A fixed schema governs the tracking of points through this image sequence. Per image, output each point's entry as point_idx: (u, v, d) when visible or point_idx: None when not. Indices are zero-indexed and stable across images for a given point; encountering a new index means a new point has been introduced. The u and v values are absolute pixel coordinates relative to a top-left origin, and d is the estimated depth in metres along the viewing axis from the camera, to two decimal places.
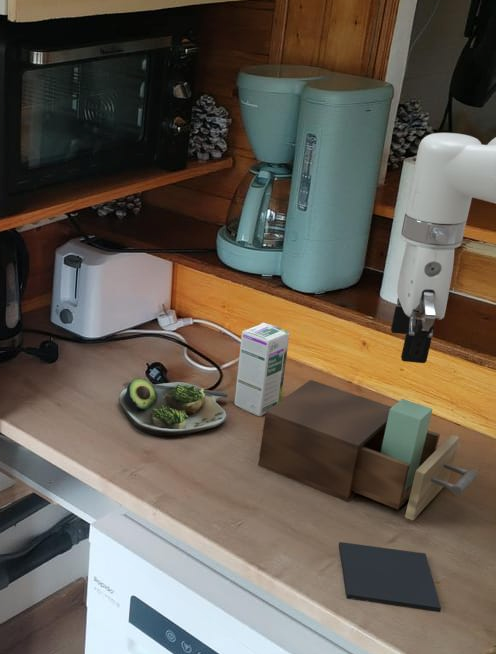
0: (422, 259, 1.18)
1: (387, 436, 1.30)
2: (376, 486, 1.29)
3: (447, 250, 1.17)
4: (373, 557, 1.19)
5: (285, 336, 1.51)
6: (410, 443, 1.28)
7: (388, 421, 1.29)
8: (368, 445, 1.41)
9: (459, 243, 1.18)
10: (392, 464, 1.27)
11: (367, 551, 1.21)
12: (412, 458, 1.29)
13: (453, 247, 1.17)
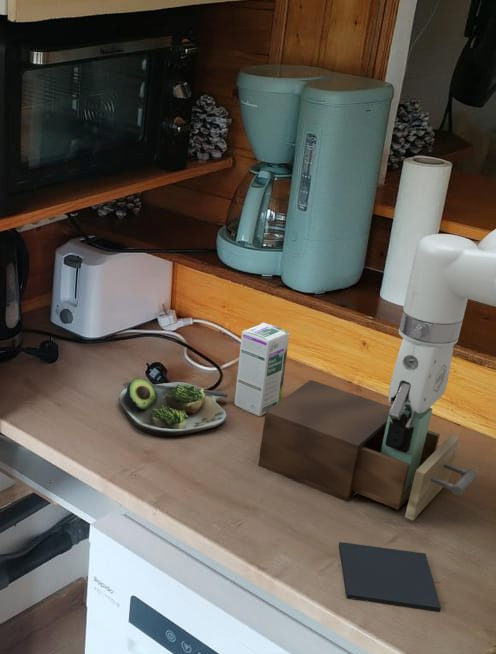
0: (402, 351, 1.22)
1: None
2: (376, 486, 1.29)
3: (426, 347, 1.20)
4: (373, 557, 1.19)
5: (285, 336, 1.51)
6: (410, 443, 1.28)
7: (388, 421, 1.29)
8: (368, 445, 1.41)
9: (446, 343, 1.20)
10: (392, 464, 1.27)
11: (367, 551, 1.21)
12: (412, 458, 1.29)
13: (436, 346, 1.20)
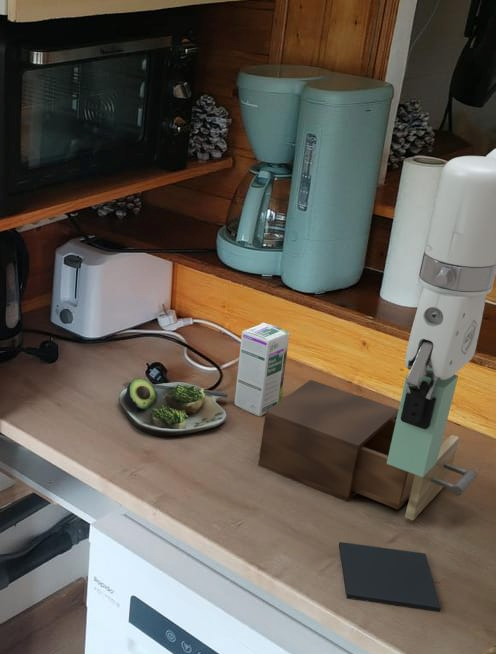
0: (423, 302, 0.99)
1: (402, 409, 1.07)
2: (376, 486, 1.29)
3: (453, 296, 0.97)
4: (373, 557, 1.19)
5: (285, 336, 1.51)
6: None
7: (404, 391, 1.06)
8: (368, 445, 1.41)
9: (478, 292, 0.97)
10: None
11: (367, 551, 1.21)
12: (433, 436, 1.06)
13: (466, 295, 0.97)
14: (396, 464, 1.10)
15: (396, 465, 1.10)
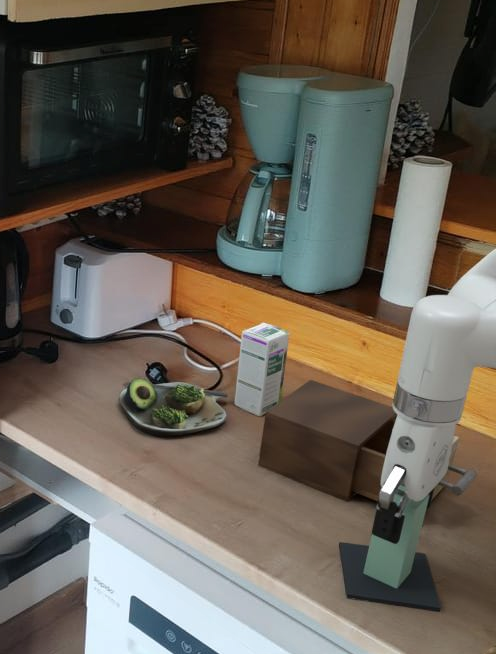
0: (396, 430, 1.05)
1: None
2: (376, 486, 1.29)
3: (424, 427, 1.03)
4: None
5: (285, 336, 1.51)
6: (403, 535, 1.11)
7: None
8: (368, 445, 1.41)
9: (447, 423, 1.03)
10: None
11: (367, 551, 1.21)
12: (406, 552, 1.12)
13: (436, 426, 1.03)
14: (372, 574, 1.16)
15: (372, 575, 1.16)
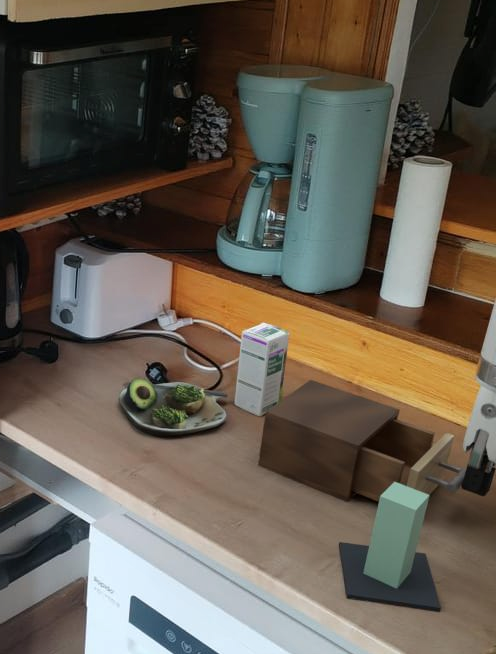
0: (480, 399, 1.17)
1: (377, 526, 1.13)
2: (371, 484, 1.30)
3: None
4: None
5: (285, 336, 1.51)
6: (403, 535, 1.11)
7: (378, 509, 1.12)
8: None
9: None
10: (387, 462, 1.27)
11: (367, 551, 1.21)
12: (406, 552, 1.12)
13: None
14: (372, 574, 1.16)
15: (372, 575, 1.16)
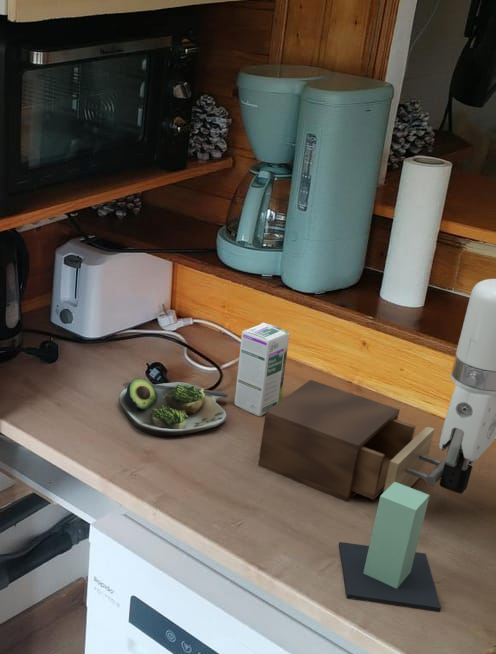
0: (455, 398, 1.19)
1: (377, 526, 1.13)
2: None
3: (481, 395, 1.17)
4: None
5: (285, 336, 1.51)
6: (403, 535, 1.11)
7: (378, 509, 1.12)
8: None
9: None
10: (367, 455, 1.29)
11: (367, 551, 1.21)
12: (406, 552, 1.12)
13: (491, 393, 1.17)
14: (372, 574, 1.16)
15: (372, 575, 1.16)
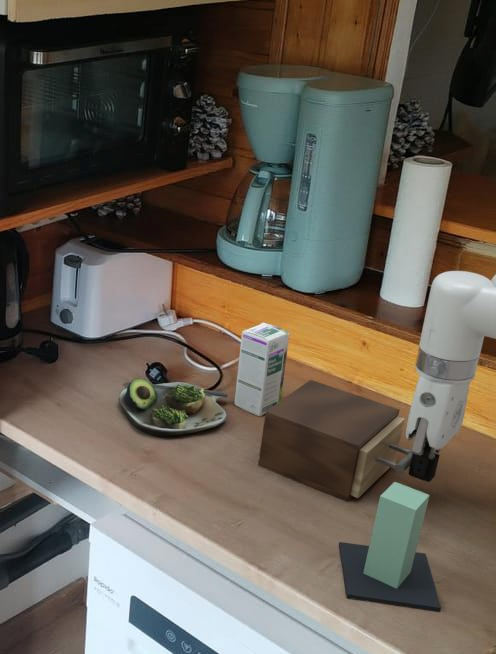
0: (419, 388, 1.22)
1: (377, 526, 1.13)
2: None
3: (443, 384, 1.20)
4: None
5: (285, 336, 1.51)
6: (403, 535, 1.11)
7: (378, 509, 1.12)
8: None
9: (463, 380, 1.20)
10: None
11: (367, 551, 1.21)
12: (406, 552, 1.12)
13: (453, 383, 1.20)
14: (372, 574, 1.16)
15: (372, 575, 1.16)
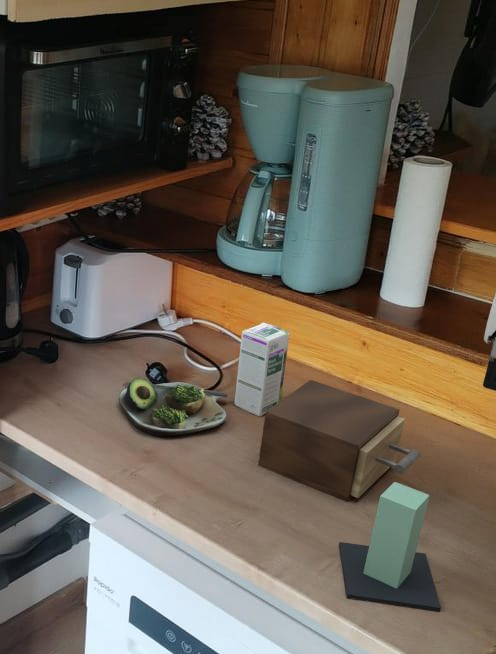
0: None
1: (377, 526, 1.13)
2: None
3: None
4: None
5: (285, 336, 1.51)
6: (403, 535, 1.11)
7: (378, 509, 1.12)
8: None
9: None
10: None
11: (367, 551, 1.21)
12: (406, 552, 1.12)
13: None
14: (372, 574, 1.16)
15: (372, 575, 1.16)
